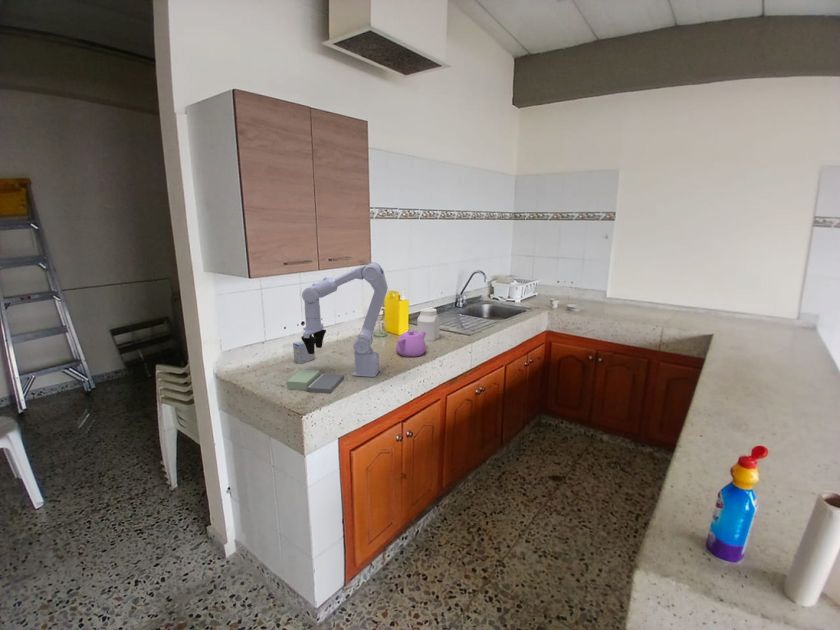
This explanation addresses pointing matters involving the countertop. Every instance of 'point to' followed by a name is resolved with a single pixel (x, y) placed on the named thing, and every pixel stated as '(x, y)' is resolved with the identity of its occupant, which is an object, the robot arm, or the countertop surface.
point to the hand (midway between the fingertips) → (315, 350)
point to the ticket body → (325, 383)
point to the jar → (429, 324)
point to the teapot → (411, 344)
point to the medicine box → (302, 353)
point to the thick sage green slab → (302, 379)
